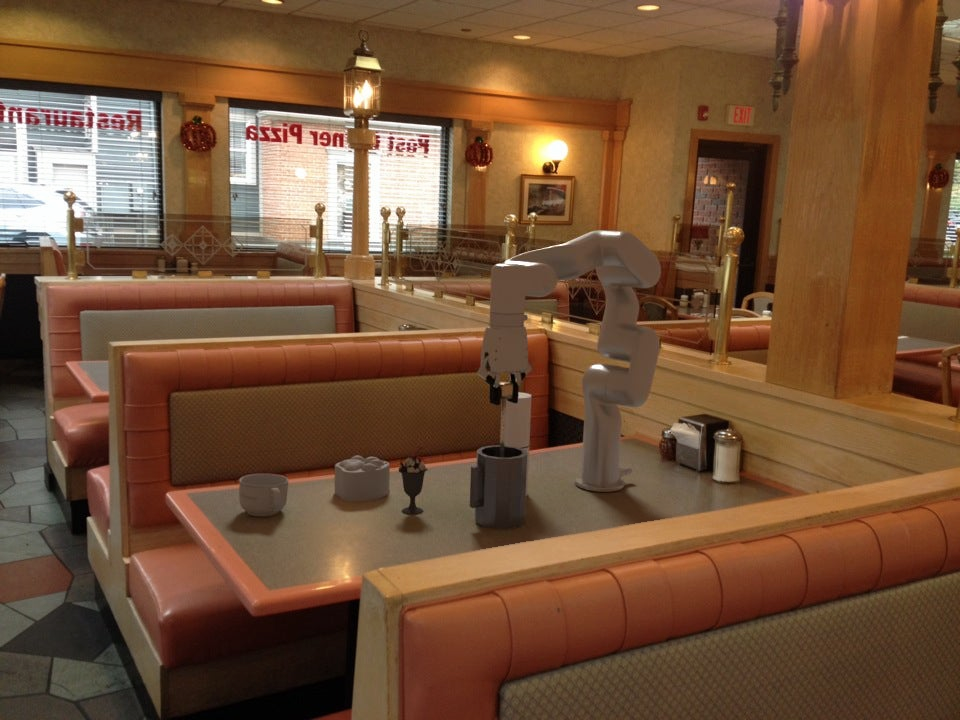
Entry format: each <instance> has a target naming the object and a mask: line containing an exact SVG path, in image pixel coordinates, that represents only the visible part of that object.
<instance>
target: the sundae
mask: <svg viewBox="0 0 960 720" xmlns="http://www.w3.org/2000/svg"><path fill="white" fill-rule="evenodd" d="M422 449H423V447H422V446H421V447H419V448H418V450H417V451H416V453H413V454H411V455H410V456H409V457H407V458H406V460H405V461H404V463H403V462H402V461H400V462H399V463H400V466H399V467H398V473H400V474H401V476H402V477H401V478H402V486H403V492H404V493H405V494H406V495H407V496H408V497H409V506H406V507H403V508H402V509H401V512H402V513H403V514H405V515H409V514H416V515H420V514H422V513H423V512H424V509H422V508H421V507H417V504H416V498H417V497H418V495H420V494H421V493H422V489H423V485H424V478H425V473H426V472H427V471H428V468H427V467H426V464H425V462H424V461H422V460H423V457H422V456H421V450H422ZM417 454H418V455H419V456H417ZM419 513H420V514H419Z"/></svg>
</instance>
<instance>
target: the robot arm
mask: <svg viewBox="0 0 960 720" xmlns="http://www.w3.org/2000/svg"><path fill="white" fill-rule="evenodd" d="M660 262H661V261H660V260H659V258H658V257H657V256H656V255H655V253H654V252H653V251H652V250H651V249H650V248H649V247H648V246H647V245H646V244H644V242H643V241H642V240H641V239H640V238H638V237H637V236H635V235H634V234H633V233H630V232H628V231H624V230H623V231H622V230H605V229H604V230H603V229H602V230H601V229H599V230H592V231H590V232H587V233H585V234H583V235H580V236H578V237H576V238H573V239H571V240H569V241H566V242H564V243H562V244H561V243H560V244H555V245H552V246H548V247H543V248H540V249H539V248H538V249H535V250H530V251H527V252H523V253H519V254H517V255H515V256H512V257H511V258H508V259H506V260H505V261H503V262H501V263H496V264H494V265H493V266H492V267H491V271H490V272H491V273H490V294H489V296H490V299H489V326H486V327H485V330H484V333H483V338H482V344H481V349H480V350H481V353H480V366H479V368H478V370H477V375H478V376H479V377H481V378H482V379H483V380H484V381H485V382H486V383H487V386H489V397H488V398H489V403H490V404H492V405H495V406H500V405H501V403H502V399H501V388H500V387H499V382H501V376H502V374H508V377H509V382H510V383H513V384H514V386H513V398H511V399H507V401H509V402H512V403H518V393H519V392H520V391H519V387H520V386H521V385H522V381H524V379H525V378H526V376H527V375H528V374H529V373H531V372H532V370H533V368H532V366H531V364H530V362H529V340H528V333H527V332H528V331H527V328H526V326H525V321H528V315H527V314H525V305H526V297H532V298H533V297H534V298H542V297H547V296H550V294H552V293H553V292H554V291H555V289H556V288H557V286H558V285H557V284H558V281H565V280H573V279H577V278H579V277H581V276H583V275H585V274H587V273H589V272H591V271H593V270H595V272H596V275H597V276H596V277H597V278H598V279H599V282H600V284H601V287H602V289H603V292H604V294H605V308H604V313H603V316H602V322H601V326H600V329H599V330H600V331H599V333H598V334H599V335H598V338H597V343H596V344H597V345H596V348H597V353H598V354H599V355H600V356H601V357H603V358H605V359H607V360H610V361H611V360H612V361H619V362H624V363H629V367H625V366H620V365H614V364H608V363H595V364H592V365H590V366H588V367H587V368H586V369H585V371H584V372H583V374H582V377H581V378H582V380H581V386H582V394H583V401H584V402H583V403H584V405H583V406H584V418H583V435H582V436H583V437H582V456H581V457H582V458H581V474H580V475H577V476H576V477H575V479H574V484H575V486H577V487H578V488H581V489H583V490H586V491H591V492H596V493H597V492H599V493H601V492H602V493H608V492H609V493H610V492H617V491H620V490H622V489H624V487H625V481H624V480H623V479H622V477H623V476H627V475H631V474H632V473H633V469H632V468H631V467H630V466H628V467H621V466H620V455H621V441H622V440H621V438H622V428H623V427H622V424H623V423H622V414H621V410H620V408H619V406H623V407H627V408H640V407H642V406H643V405H645V403H646V402H647V400H648V398H649V396H650V393H651V388H652V384H653V382H654V376H655V372H656V367H657V363H658V359H659V355H660V348H661V347H660V338H659V335H658V333H657V332H656V331H655V330H654V329H653V328H651V327H650V326H643V325H637V322H638V318H639V313H640V304H639V303H640V302H639V299H638V296H637V294H636V292H635V291H634V289H633V288H639V289H649V288H653V287H654V286H655V285H657V283H658V282H659V281H660V278H661V275H662V266H661V263H660ZM488 372H489V373H488ZM618 405H619V406H618Z"/></svg>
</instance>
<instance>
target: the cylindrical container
mask: <svg viewBox="0 0 960 720" xmlns="http://www.w3.org/2000/svg"><path fill="white" fill-rule="evenodd" d="M531 415H532V394H531V393H530V394H529V393H527V392H520V391H519V393H518V403H512V402H509V401H507V399H506V417H505V445H504V446H512V447H518V448H521V449H523V450H526V452H527V473H526V497H527V496H528V486H529V468H530V467H529V465H530V463H529V462H530V461H529V460H530V444H531V443H530V440H531V438H530V435H531V419H532V418H531Z"/></svg>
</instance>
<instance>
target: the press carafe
mask: <svg viewBox="0 0 960 720" xmlns="http://www.w3.org/2000/svg"><path fill="white" fill-rule="evenodd" d="M526 473H527V452H526V450H523V449H521V448H518V447H512V446H504V458H502V457H500V444H499V445H498V444H497V445H493V444H492V445H486V446H481V447H480V448H478V449H477V450H476V464H475V465H471V466H470V485H469V487H470V488H469V492H470V493H469V507H470V508H472V509H474V522H475V524H477V525H479V526H481V527H483V528H488V529H493V530H511V529H512V530H513V529H515V528H516V529H517V528H520V527H521V526H522V525H524V524H525V517H526V497H527V496H526Z"/></svg>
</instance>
